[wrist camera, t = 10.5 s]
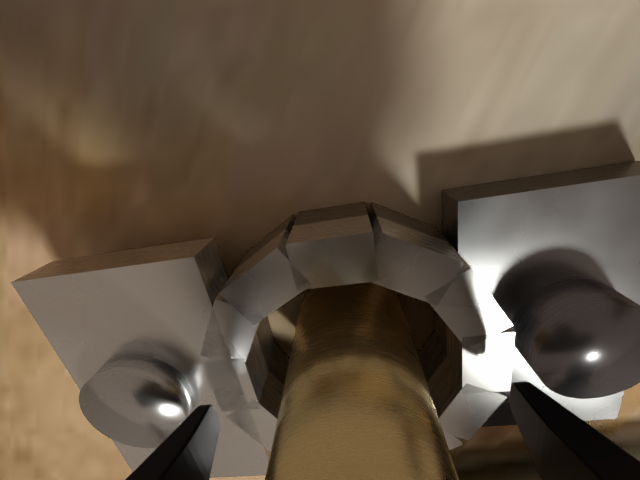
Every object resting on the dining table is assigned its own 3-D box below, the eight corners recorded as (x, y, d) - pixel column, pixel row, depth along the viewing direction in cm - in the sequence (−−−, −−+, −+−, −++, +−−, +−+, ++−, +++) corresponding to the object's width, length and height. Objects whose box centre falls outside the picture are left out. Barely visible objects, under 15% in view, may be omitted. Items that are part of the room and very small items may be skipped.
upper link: (475, 185, 10) (546, 221, 7) (470, 395, 14) (515, 489, 10) (86, 244, 12) (-18, 297, 9) (173, 416, 16) (126, 502, 12)
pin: (399, 266, 12) (550, 645, 3) (406, 354, 13) (519, 753, 5) (289, 280, 12) (182, 633, 4) (309, 362, 14) (264, 737, 5)
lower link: (637, 160, 10) (757, 178, 7) (587, 387, 13) (653, 458, 11) (202, 226, 11) (158, 261, 9) (264, 410, 15) (248, 475, 12)
